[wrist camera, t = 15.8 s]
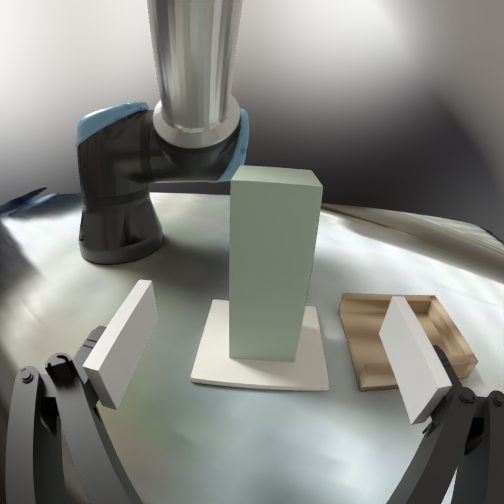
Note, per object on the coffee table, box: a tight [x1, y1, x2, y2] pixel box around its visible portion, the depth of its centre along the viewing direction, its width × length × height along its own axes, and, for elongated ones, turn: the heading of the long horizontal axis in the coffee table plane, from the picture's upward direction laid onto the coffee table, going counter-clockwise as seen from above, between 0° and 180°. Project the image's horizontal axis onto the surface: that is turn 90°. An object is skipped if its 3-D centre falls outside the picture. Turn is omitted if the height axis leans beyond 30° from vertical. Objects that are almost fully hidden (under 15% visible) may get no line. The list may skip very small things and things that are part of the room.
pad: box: [191, 299, 330, 391], centre depth 29 cm, size 12×12×1 cm
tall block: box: [229, 165, 323, 362], centre depth 25 cm, size 6×6×16 cm
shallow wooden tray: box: [339, 293, 478, 391], centre depth 28 cm, size 12×13×2 cm
